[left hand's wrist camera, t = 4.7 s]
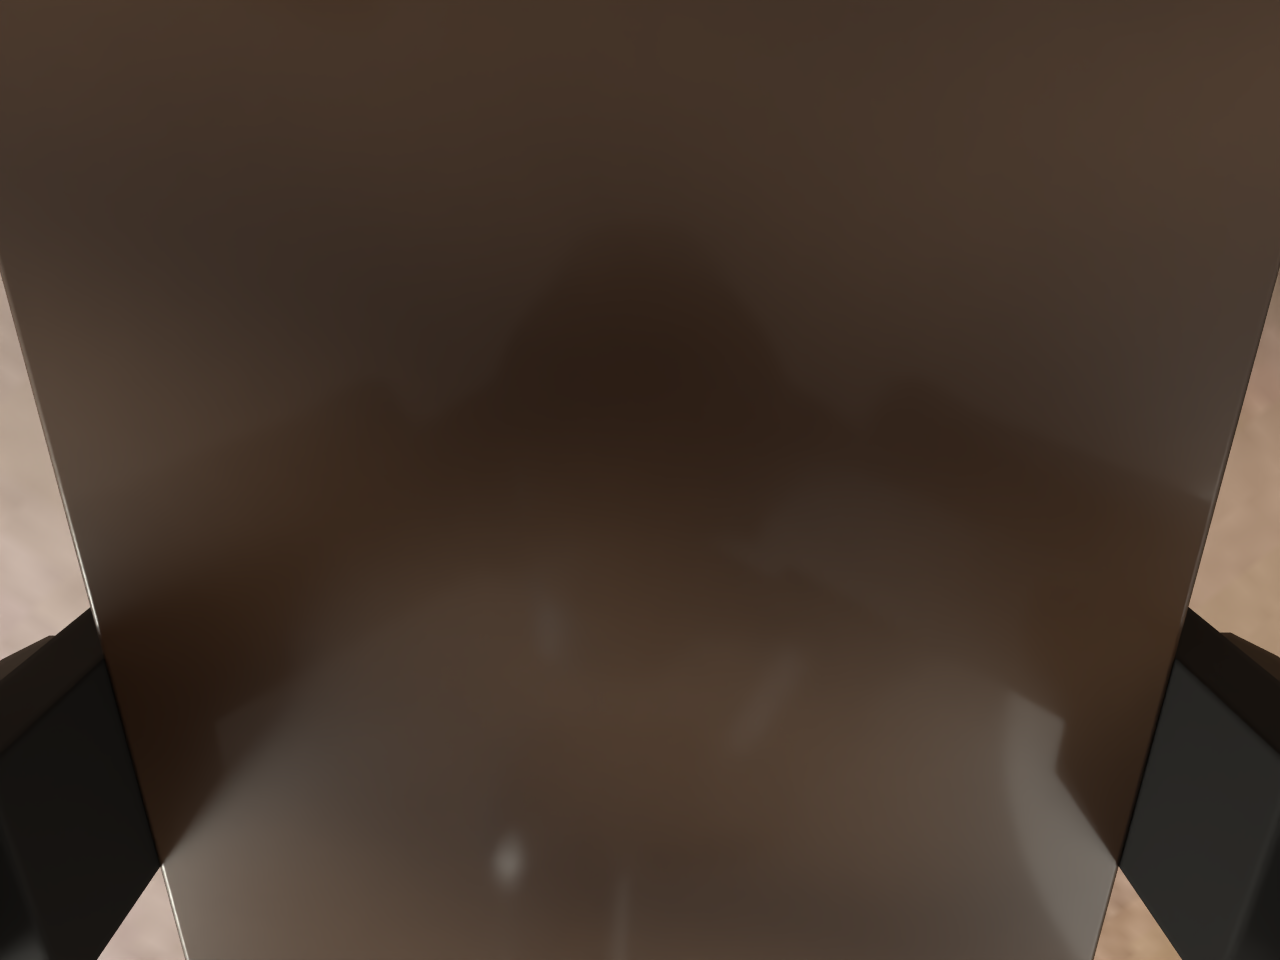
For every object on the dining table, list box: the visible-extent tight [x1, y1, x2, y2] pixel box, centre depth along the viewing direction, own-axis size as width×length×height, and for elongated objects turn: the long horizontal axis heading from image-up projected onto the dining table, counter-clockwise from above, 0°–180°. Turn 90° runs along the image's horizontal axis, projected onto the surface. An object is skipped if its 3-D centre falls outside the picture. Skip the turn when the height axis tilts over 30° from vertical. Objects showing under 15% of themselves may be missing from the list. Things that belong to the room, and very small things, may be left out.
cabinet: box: [0, 0, 1280, 960], centre depth 12 cm, size 17×11×11 cm, turn 0°
